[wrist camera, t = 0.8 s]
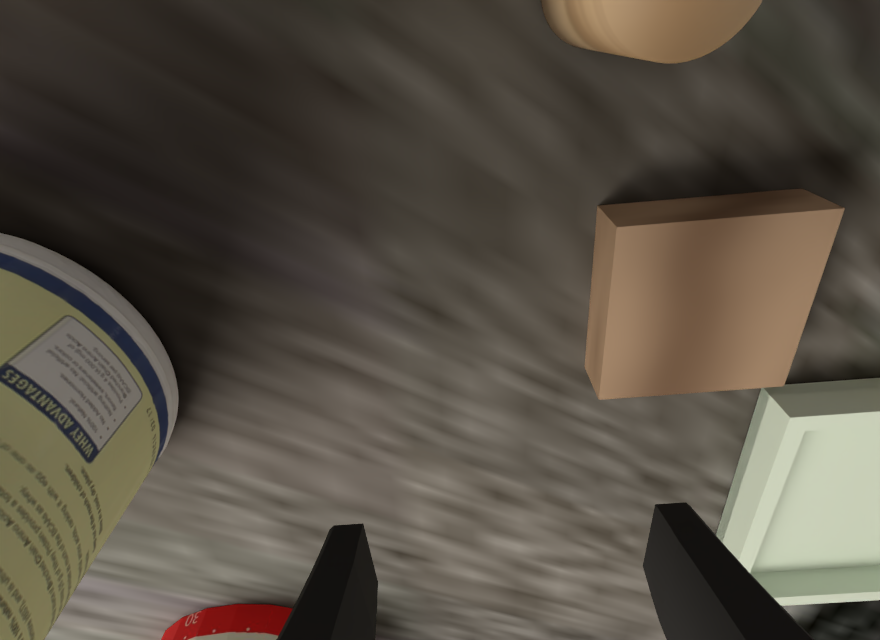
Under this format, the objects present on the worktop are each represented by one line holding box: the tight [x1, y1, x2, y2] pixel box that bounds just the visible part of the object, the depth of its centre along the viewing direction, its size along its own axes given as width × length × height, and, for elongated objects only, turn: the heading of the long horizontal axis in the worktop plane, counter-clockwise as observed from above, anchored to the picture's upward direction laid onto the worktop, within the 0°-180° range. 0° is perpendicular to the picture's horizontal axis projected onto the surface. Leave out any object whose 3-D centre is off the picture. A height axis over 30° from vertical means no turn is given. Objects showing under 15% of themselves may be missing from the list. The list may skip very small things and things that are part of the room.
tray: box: [716, 378, 880, 606], centre depth 24 cm, size 12×14×2 cm
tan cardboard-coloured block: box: [585, 188, 845, 400], centre depth 18 cm, size 7×7×2 cm
